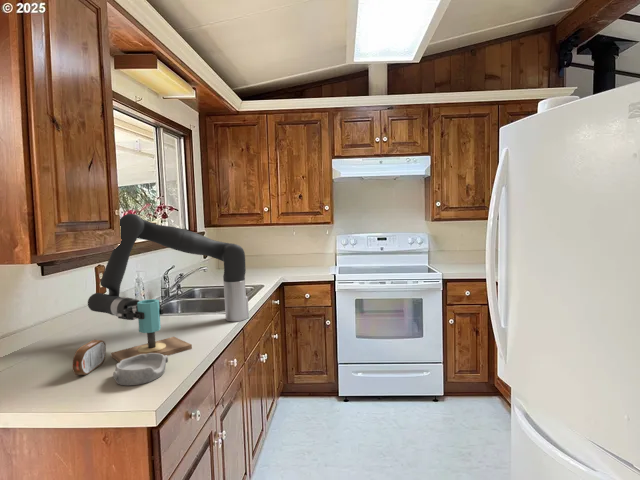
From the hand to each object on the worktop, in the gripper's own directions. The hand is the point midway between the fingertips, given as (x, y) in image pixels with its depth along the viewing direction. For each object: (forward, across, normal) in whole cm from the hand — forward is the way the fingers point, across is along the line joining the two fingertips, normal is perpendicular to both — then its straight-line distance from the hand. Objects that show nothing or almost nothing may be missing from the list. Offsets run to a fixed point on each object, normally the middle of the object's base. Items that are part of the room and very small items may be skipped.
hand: (153, 313), depth 139 cm
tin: (-5, -18, +14) cm, 24 cm away
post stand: (-2, 0, +14) cm, 14 cm away
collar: (-2, 0, +6) cm, 6 cm away
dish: (+14, -14, +14) cm, 24 cm away
